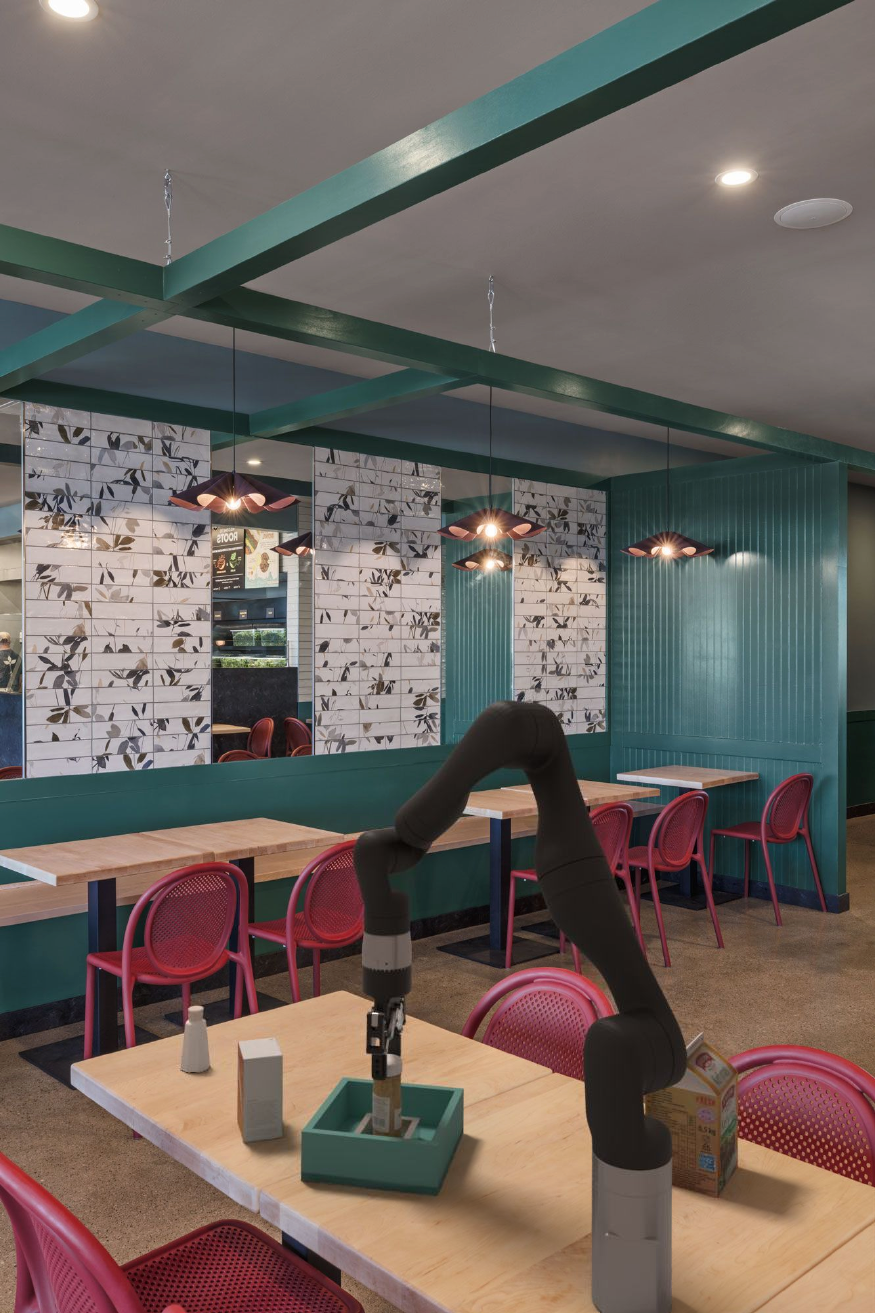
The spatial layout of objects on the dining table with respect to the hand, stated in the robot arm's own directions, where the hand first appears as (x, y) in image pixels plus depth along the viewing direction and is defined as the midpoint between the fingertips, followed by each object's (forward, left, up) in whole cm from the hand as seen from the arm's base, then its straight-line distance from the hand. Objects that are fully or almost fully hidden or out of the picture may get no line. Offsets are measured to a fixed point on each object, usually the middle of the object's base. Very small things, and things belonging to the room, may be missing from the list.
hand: (386, 1068), depth 154 cm
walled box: (0, 0, -13) cm, 13 cm away
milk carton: (+5, -45, -13) cm, 47 cm away
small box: (+4, +22, -13) cm, 26 cm away
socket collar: (0, 0, -12) cm, 12 cm away
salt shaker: (+25, +43, -13) cm, 52 cm away
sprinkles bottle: (0, 0, -12) cm, 12 cm away
